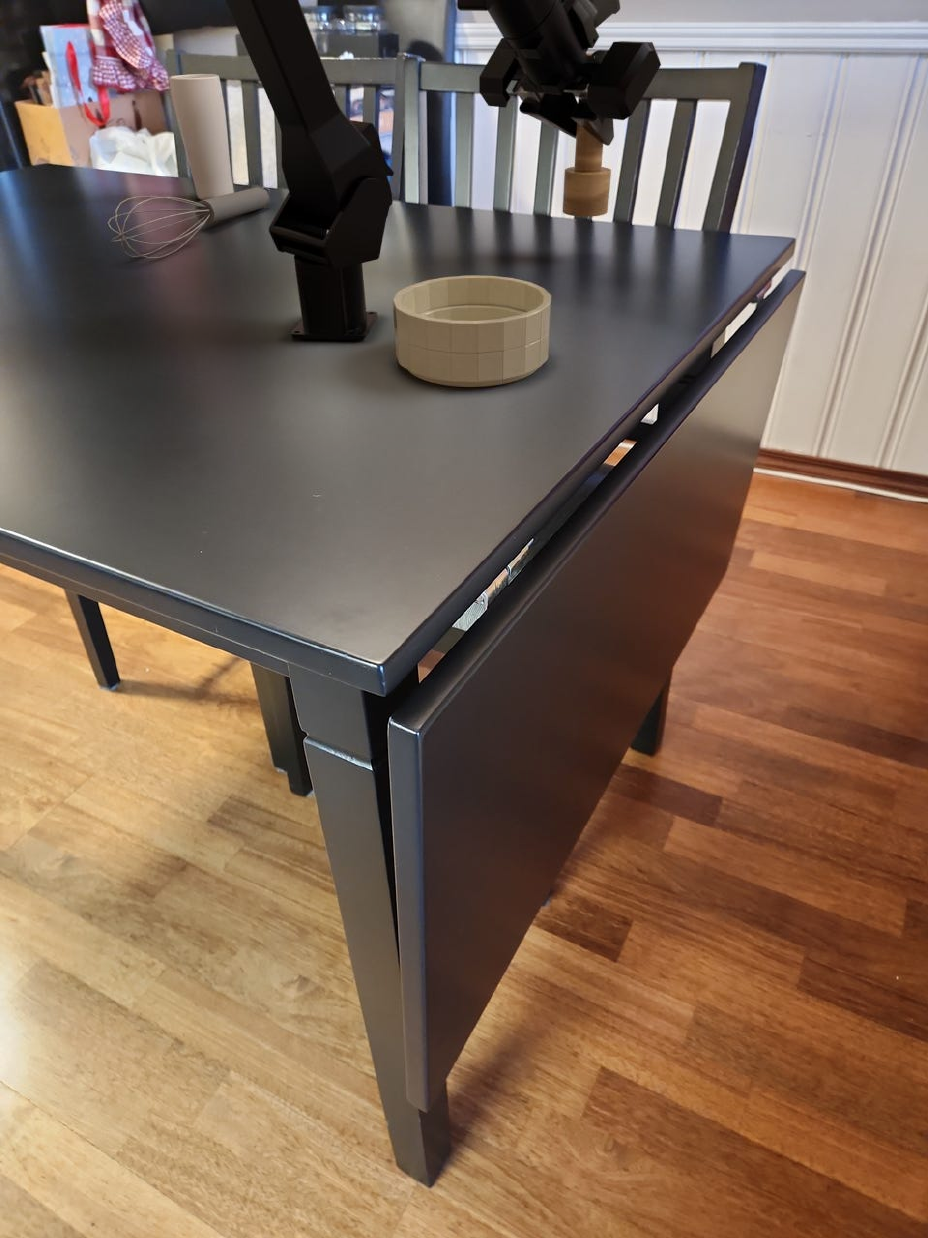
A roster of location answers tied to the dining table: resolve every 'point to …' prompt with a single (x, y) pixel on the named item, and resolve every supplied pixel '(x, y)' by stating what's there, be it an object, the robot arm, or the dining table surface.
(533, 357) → the bowl
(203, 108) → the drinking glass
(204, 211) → the kitchen whisk
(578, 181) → the pestle
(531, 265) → the dining table surface
